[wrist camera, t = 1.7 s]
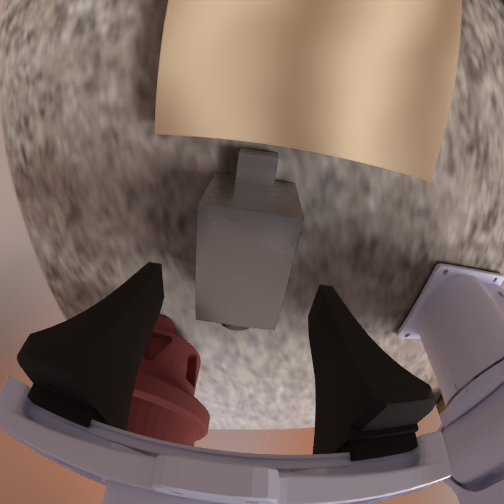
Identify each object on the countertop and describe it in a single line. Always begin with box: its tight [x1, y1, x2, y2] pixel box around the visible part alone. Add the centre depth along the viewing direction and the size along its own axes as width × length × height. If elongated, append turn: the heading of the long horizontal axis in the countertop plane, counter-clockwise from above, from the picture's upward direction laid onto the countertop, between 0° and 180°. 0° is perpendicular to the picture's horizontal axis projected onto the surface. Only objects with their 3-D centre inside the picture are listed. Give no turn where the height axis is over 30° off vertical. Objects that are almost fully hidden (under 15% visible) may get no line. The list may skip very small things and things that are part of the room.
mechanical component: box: [127, 316, 210, 446], centre depth 19 cm, size 12×10×10 cm
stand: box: [154, 0, 462, 182], centre depth 9 cm, size 14×14×2 cm
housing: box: [196, 148, 304, 330], centre depth 16 cm, size 4×10×4 cm, turn 173°
